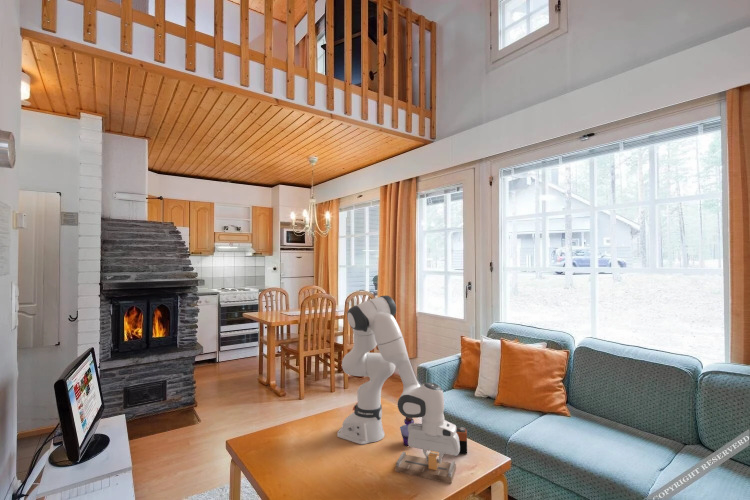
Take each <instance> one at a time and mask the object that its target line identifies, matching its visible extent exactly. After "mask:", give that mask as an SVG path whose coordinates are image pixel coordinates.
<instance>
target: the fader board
mask: <svg viewBox="0 0 750 500" xmlns="http://www.w3.org/2000/svg"><path fill="white" fill-rule="evenodd" d="M406 453H407V452H406V451H402V453H401V455H400V456H399V458H398V459H397V460H396V462H395V464H396V465H395V468H394V469H395V470H394V471H395V472H396V473H400V474H405V475H410V476H414V477H418V478H419V477H420V478H424V479H428V480H433V481H438V482H442V483H448V484H452V483H453V479H454V477H455V475H456V471H457V464H456V462H455V461H454V460H452V461H451V462H447V461H444V460H443V461H442V462H441V464H440V463H439V465H438V467H437V470H432V469H429V462H428V461H426V457H420V456H416V455H411V454H406Z"/></svg>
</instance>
